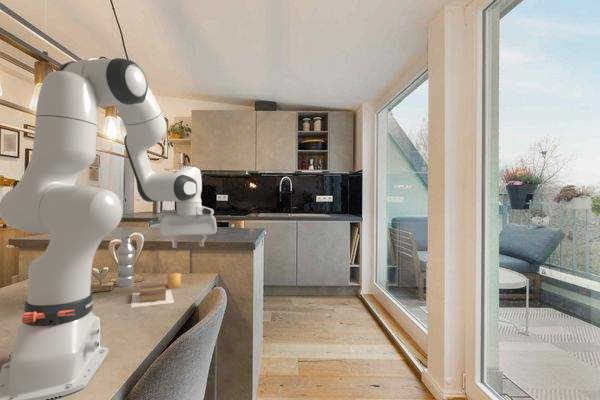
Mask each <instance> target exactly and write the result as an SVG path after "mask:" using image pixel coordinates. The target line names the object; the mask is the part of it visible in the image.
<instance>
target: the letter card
mask: <svg viewBox="0 0 600 400" xmlns="http://www.w3.org/2000/svg"><path fill="white" fill-rule="evenodd" d="M174 303H175V301H174V296H173V293H172V290H171V289H166V300H164V301H155V302H145V303H140V292H132V296H131V304H130V308H140V307H149V306H156V305H164V304H165V305H166V304H174Z"/></svg>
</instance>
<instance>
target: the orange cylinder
mask: <svg viewBox="0 0 600 400" xmlns="http://www.w3.org/2000/svg"><path fill="white" fill-rule="evenodd" d="M166 279H167V282H166V283H167V285H166V287H167V288H166V289H169V290H171V289H179V288H181V286H182V283H181V282H182V273H180V272H172V273H168V274H167V278H166Z"/></svg>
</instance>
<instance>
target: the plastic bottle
mask: <svg viewBox="0 0 600 400" xmlns="http://www.w3.org/2000/svg"><path fill="white" fill-rule="evenodd" d="M120 242H121V244H120V245H119V246H118V248H117V250H116V257H117V264H118V265H117V267H118V268H117V275H116V280H115V285H116V287H118V288H128V287H131V286H134V285H135V279H136V278H135V273H134V262H135V261H134V259H135V255H136V248H135V247H134V245H133V244H132V243H133V237H131V236H130V237H129V236H125V237H124V236H123V237H121V241H120Z"/></svg>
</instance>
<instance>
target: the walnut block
mask: <svg viewBox="0 0 600 400" xmlns="http://www.w3.org/2000/svg"><path fill="white" fill-rule="evenodd" d="M139 285H140V286H139V293H140V303H145V302H155V301H164V300H166V290H167V288H166V287H167V286H166V284H165V282H163V281H162V282H152V283H140V284H139Z"/></svg>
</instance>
